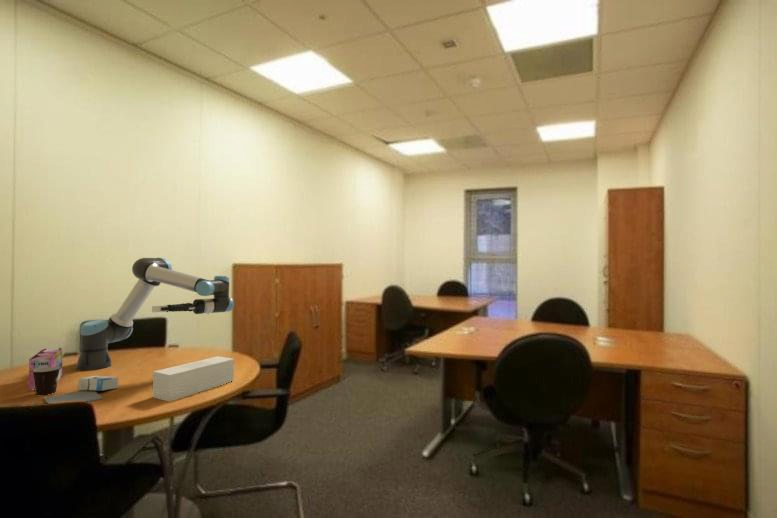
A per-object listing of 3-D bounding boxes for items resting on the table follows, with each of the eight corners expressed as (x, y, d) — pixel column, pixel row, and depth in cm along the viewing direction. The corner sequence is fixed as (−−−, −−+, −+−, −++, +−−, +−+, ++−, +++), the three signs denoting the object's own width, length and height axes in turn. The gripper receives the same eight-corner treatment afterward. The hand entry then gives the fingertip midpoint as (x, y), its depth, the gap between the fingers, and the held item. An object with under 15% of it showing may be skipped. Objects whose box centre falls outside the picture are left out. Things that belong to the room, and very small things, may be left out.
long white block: (169, 402, 167) (169, 375, 167) (152, 397, 172) (153, 371, 172) (233, 382, 195) (234, 358, 195) (217, 378, 200) (218, 356, 200)
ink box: (103, 379, 176) (78, 377, 178) (101, 391, 175) (76, 390, 177) (118, 376, 184) (94, 375, 186) (117, 388, 184) (93, 386, 185)
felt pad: (44, 399, 168) (44, 397, 168) (92, 390, 179) (92, 389, 179) (52, 409, 157) (52, 407, 157) (102, 399, 169) (102, 397, 169)
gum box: (42, 377, 199) (43, 348, 199) (63, 375, 203) (63, 347, 203) (27, 391, 178) (28, 359, 178) (51, 388, 182) (51, 357, 182)
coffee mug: (42, 390, 179) (43, 366, 179) (64, 389, 180) (64, 366, 180) (21, 399, 168) (21, 374, 168) (44, 398, 168) (44, 373, 168)
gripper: (208, 314, 212) (157, 318, 195) (197, 312, 221) (147, 315, 204) (208, 300, 212) (157, 302, 195) (197, 297, 221) (148, 300, 204)
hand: (152, 309), depth 200 cm, fingers closed
